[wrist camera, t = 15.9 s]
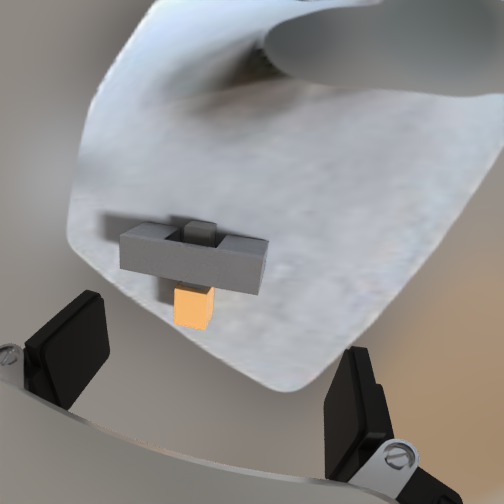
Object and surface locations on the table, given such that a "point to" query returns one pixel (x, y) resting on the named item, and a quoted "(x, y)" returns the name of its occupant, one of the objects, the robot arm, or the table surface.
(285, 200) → the table surface
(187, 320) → the cable plug
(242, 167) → the table surface
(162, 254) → the grey notched block
